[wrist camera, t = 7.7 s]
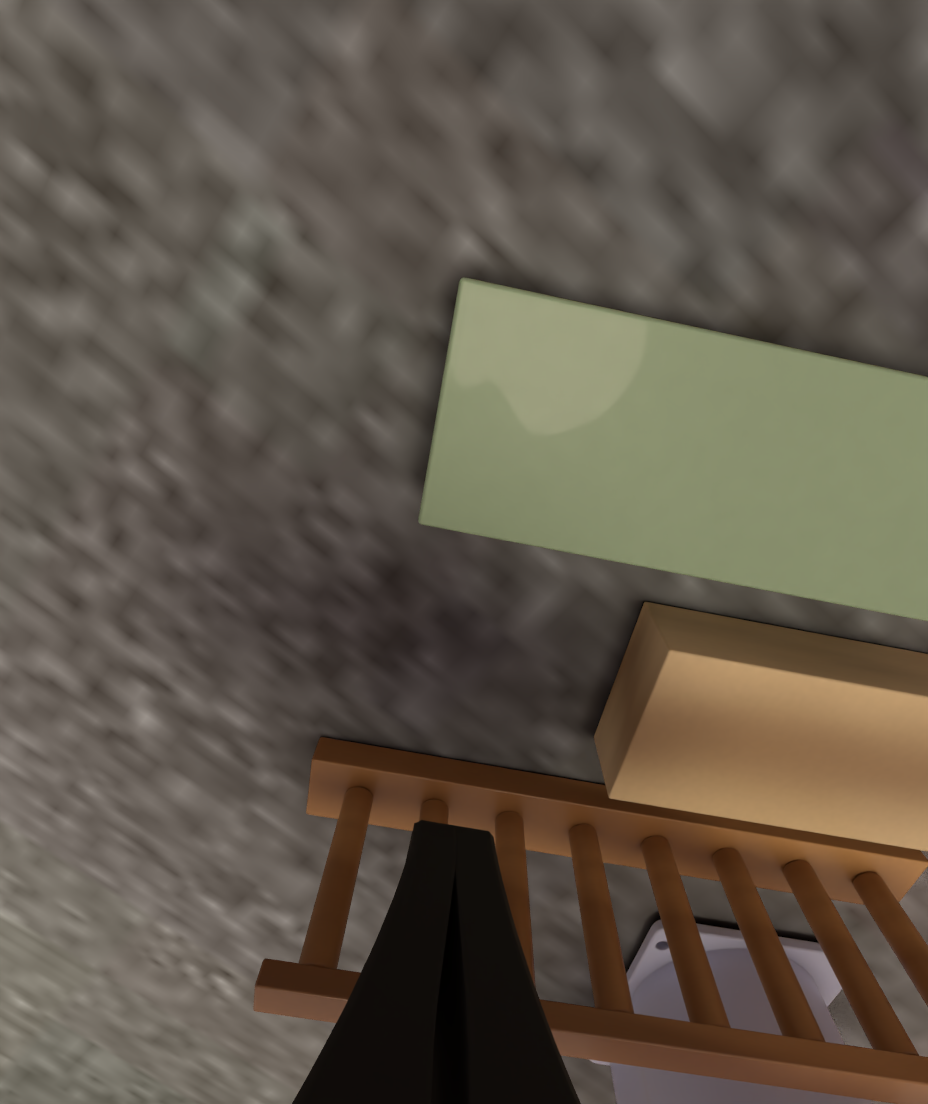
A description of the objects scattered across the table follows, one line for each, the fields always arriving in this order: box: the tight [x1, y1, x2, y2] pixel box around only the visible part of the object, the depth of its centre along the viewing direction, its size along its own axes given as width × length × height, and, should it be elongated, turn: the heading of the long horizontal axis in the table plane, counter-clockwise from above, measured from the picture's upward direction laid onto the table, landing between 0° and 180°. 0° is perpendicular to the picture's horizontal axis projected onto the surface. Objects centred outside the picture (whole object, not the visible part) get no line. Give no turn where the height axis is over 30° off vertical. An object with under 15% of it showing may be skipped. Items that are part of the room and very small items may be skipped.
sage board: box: [418, 277, 928, 621], centre depth 13 cm, size 5×14×2 cm, turn 79°
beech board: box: [594, 602, 928, 851], centre depth 16 cm, size 5×14×2 cm, turn 79°
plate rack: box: [253, 737, 928, 1104], centre depth 16 cm, size 2×20×7 cm, turn 79°
